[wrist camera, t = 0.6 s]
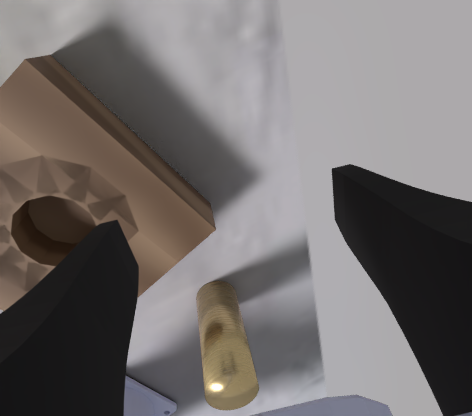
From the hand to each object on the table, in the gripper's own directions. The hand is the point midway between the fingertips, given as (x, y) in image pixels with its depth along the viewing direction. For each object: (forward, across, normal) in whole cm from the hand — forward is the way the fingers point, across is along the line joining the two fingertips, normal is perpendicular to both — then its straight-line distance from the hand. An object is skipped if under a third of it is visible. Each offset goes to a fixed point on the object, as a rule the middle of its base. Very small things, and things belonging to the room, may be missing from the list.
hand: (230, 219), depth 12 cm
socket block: (+10, +10, +3) cm, 14 cm away
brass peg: (+10, +3, +13) cm, 16 cm away
